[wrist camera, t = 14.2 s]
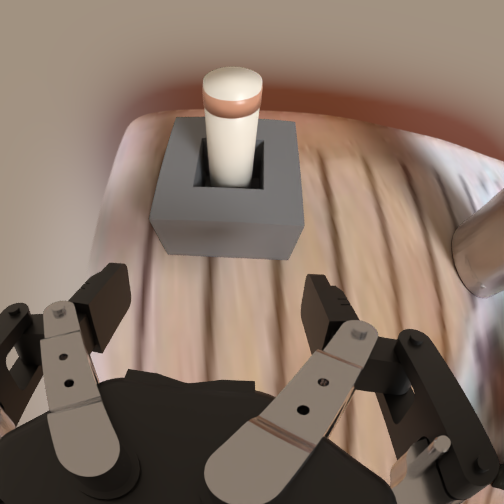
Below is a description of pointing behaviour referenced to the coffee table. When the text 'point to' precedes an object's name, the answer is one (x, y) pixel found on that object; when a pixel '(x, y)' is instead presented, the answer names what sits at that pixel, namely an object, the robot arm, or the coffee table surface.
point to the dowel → (231, 124)
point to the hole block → (229, 197)
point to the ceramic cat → (499, 478)
